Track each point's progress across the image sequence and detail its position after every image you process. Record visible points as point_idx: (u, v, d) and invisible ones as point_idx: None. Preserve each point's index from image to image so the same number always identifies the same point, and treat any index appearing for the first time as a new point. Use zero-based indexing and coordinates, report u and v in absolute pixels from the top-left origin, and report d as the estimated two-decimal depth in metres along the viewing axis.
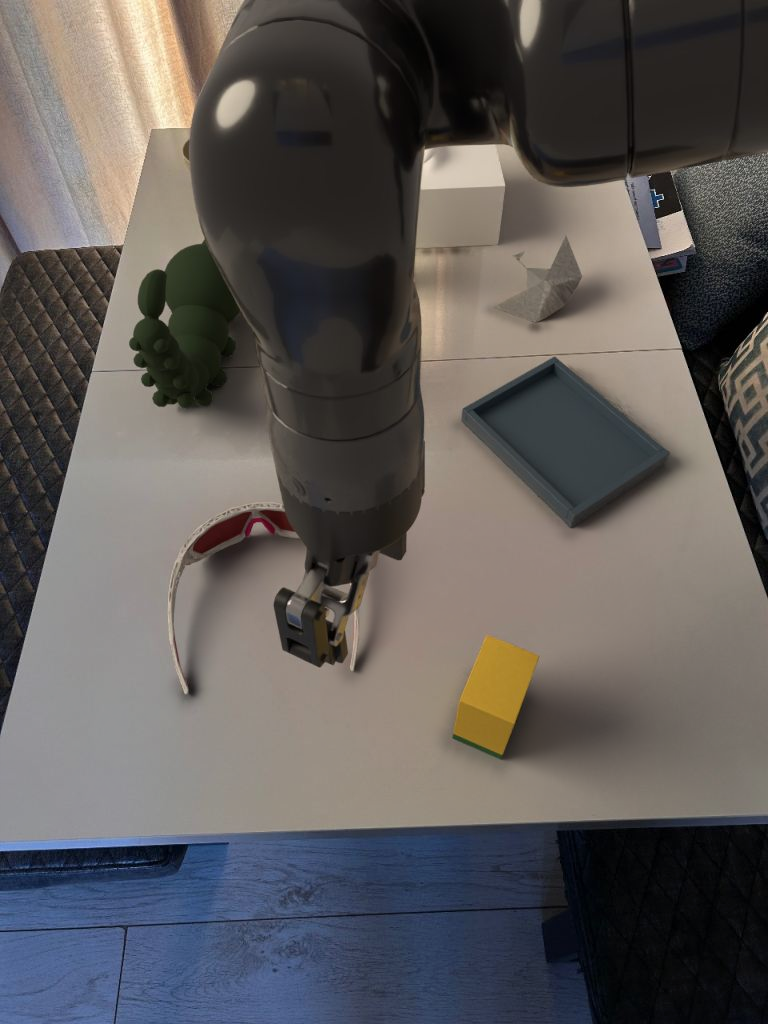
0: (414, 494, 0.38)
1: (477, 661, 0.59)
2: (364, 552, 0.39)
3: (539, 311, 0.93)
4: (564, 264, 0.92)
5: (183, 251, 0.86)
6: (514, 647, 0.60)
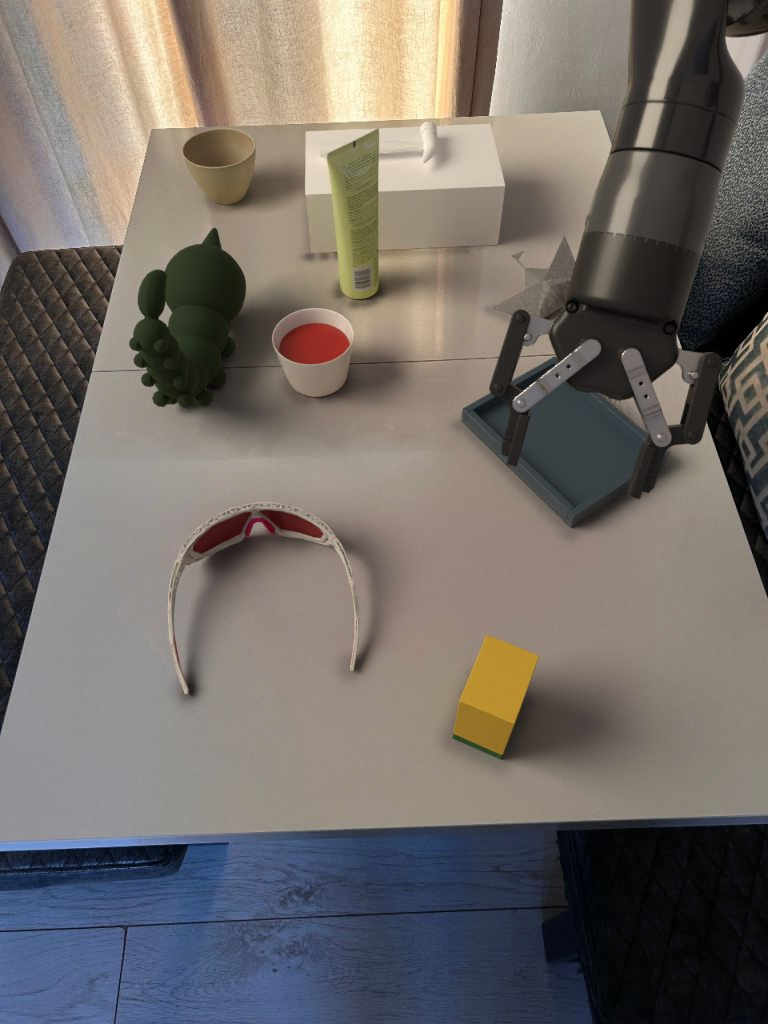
0: (637, 260, 0.46)
1: (477, 661, 0.59)
2: (579, 292, 0.49)
3: (538, 311, 0.93)
4: (563, 264, 0.92)
5: (183, 251, 0.86)
6: (514, 647, 0.60)
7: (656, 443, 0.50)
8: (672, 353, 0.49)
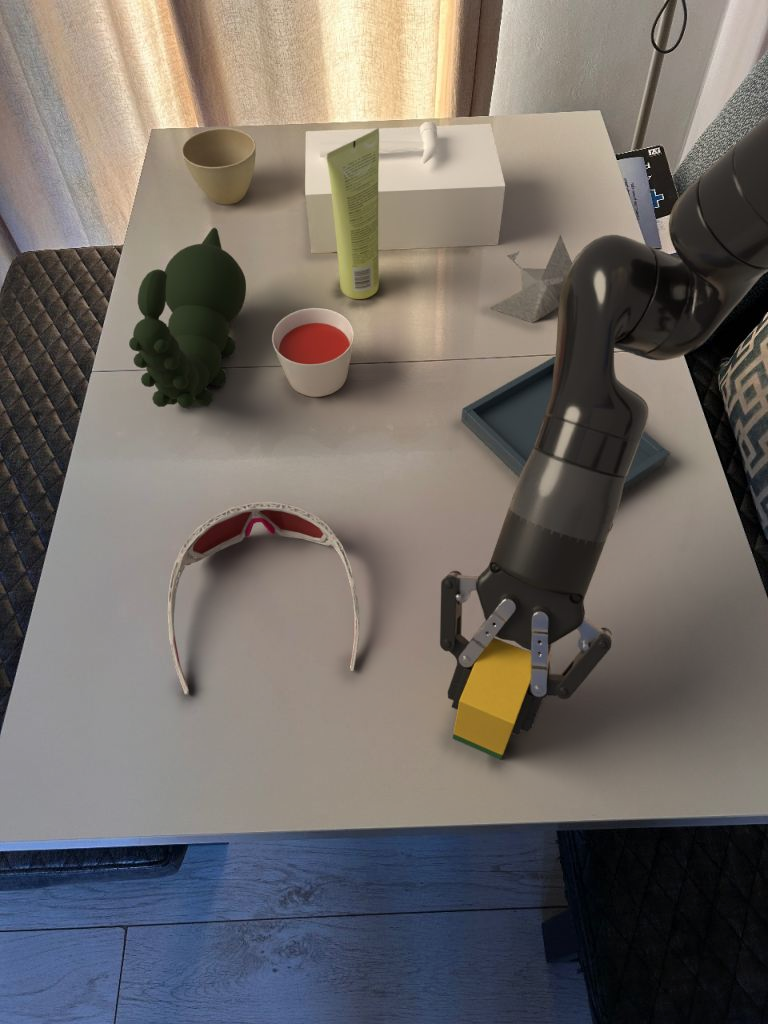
0: (544, 547, 0.54)
1: (477, 661, 0.59)
2: (498, 560, 0.57)
3: (535, 311, 0.93)
4: (559, 264, 0.92)
5: (183, 251, 0.86)
6: (514, 647, 0.60)
7: (533, 693, 0.58)
8: (577, 618, 0.57)
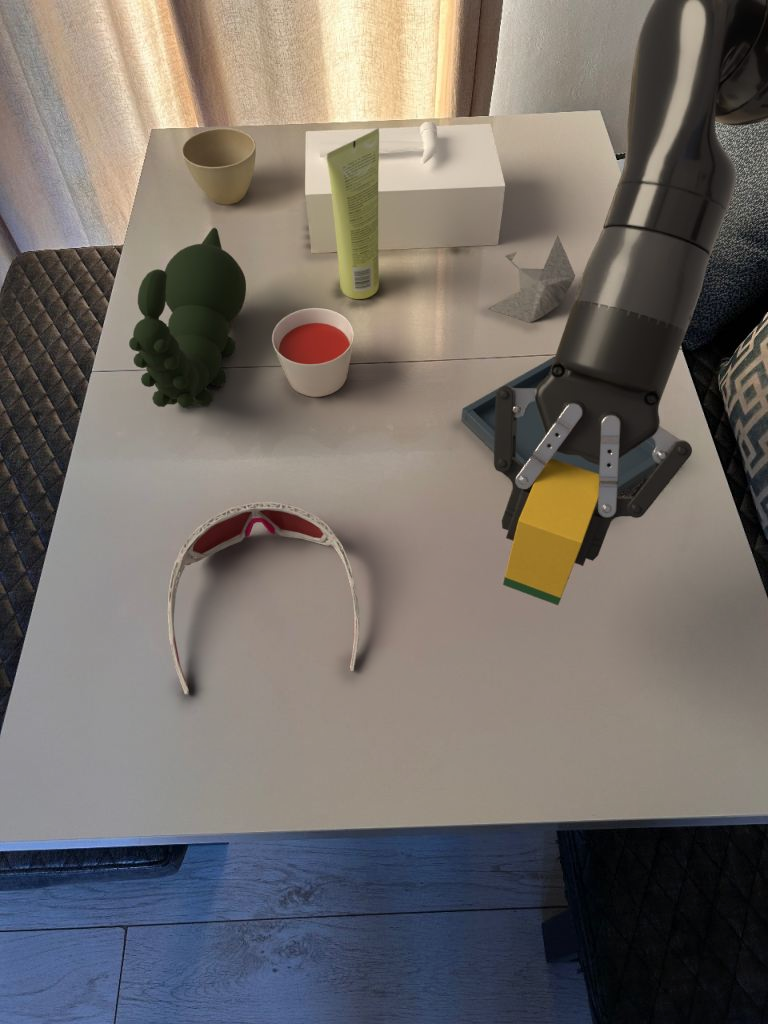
0: (619, 331, 0.47)
1: (536, 482, 0.53)
2: (563, 358, 0.50)
3: (533, 311, 0.93)
4: (557, 264, 0.92)
5: (183, 251, 0.86)
6: (577, 468, 0.54)
7: (601, 513, 0.52)
8: (652, 423, 0.50)
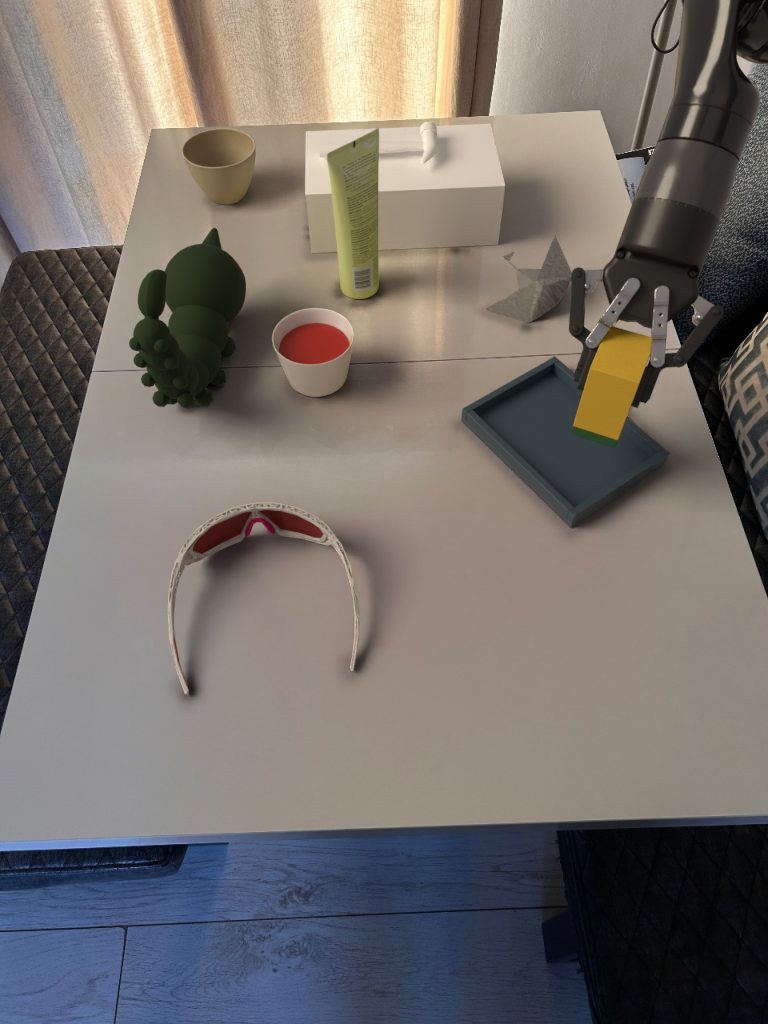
0: (670, 217, 0.63)
1: (602, 342, 0.69)
2: (626, 242, 0.66)
3: (531, 311, 0.93)
4: (554, 264, 0.92)
5: (183, 251, 0.86)
6: (633, 333, 0.69)
7: (653, 364, 0.67)
8: (693, 292, 0.66)
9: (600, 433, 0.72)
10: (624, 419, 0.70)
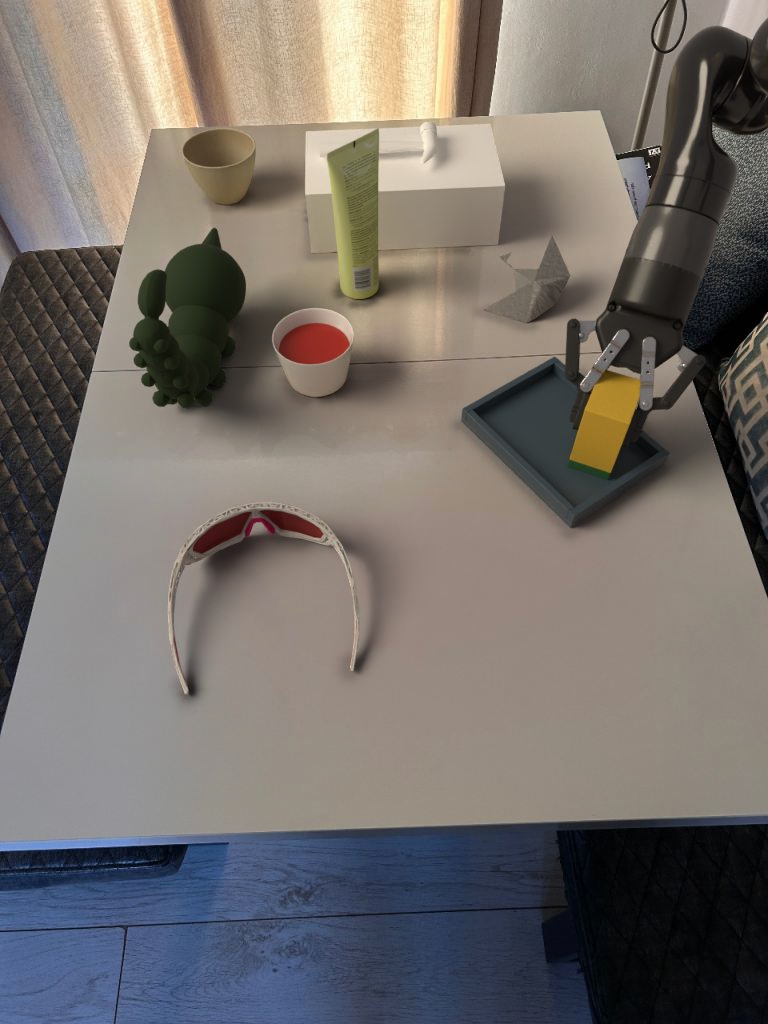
0: (656, 276, 0.70)
1: (596, 385, 0.75)
2: (616, 297, 0.72)
3: (529, 312, 0.93)
4: (552, 264, 0.92)
5: (183, 251, 0.86)
6: (624, 376, 0.75)
7: (641, 407, 0.74)
8: (678, 342, 0.72)
9: (594, 466, 0.79)
10: (616, 455, 0.76)
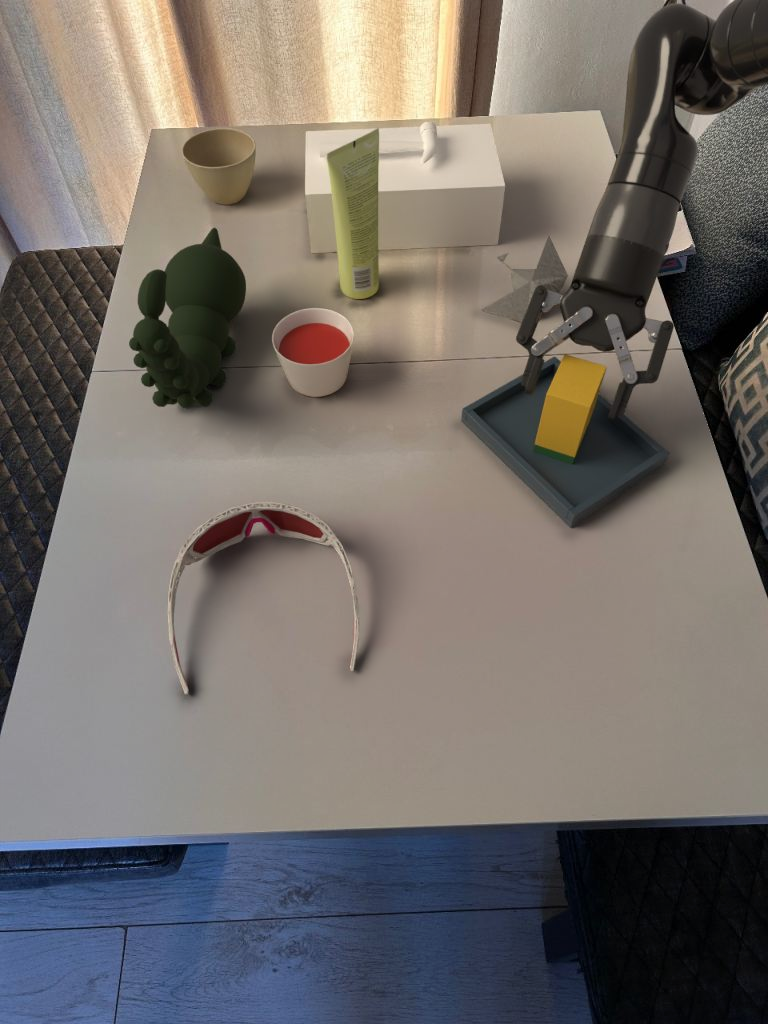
0: (618, 253, 0.70)
1: (558, 370, 0.76)
2: (580, 274, 0.73)
3: None
4: (549, 264, 0.92)
5: (183, 251, 0.86)
6: (586, 361, 0.77)
7: (627, 381, 0.74)
8: (641, 319, 0.73)
9: (559, 451, 0.80)
10: (579, 439, 0.77)
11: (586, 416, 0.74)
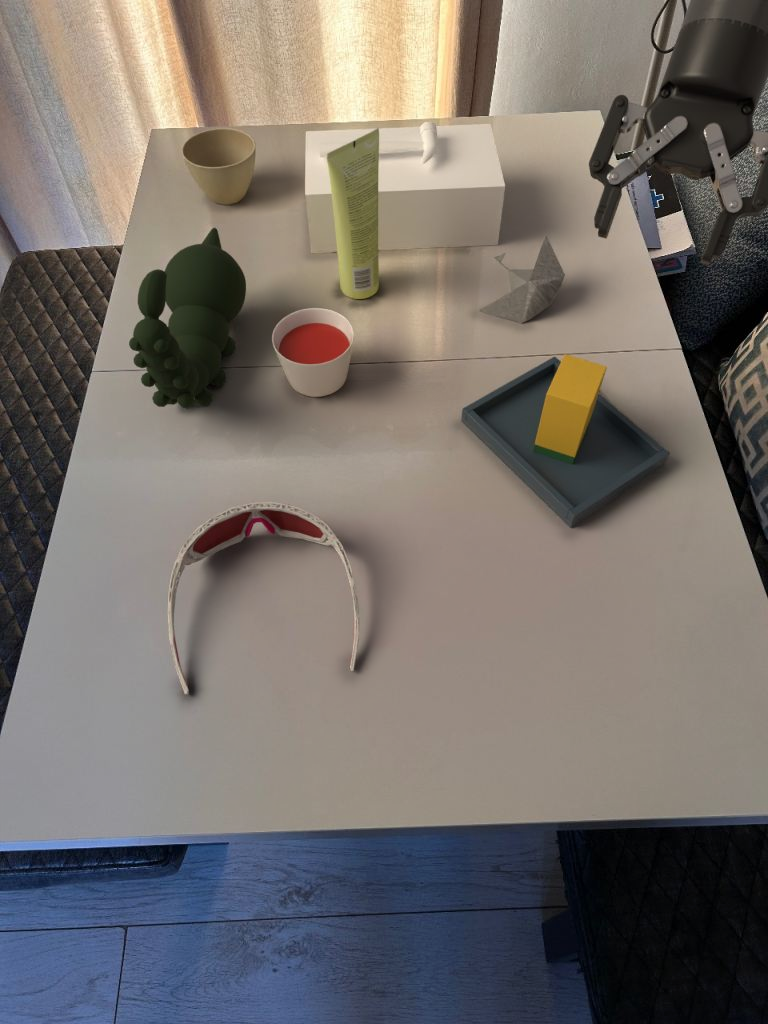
0: (724, 39, 0.56)
1: (558, 370, 0.76)
2: (672, 74, 0.59)
3: (525, 312, 0.93)
4: (546, 264, 0.92)
5: (183, 251, 0.86)
6: (586, 361, 0.77)
7: (728, 209, 0.60)
8: (748, 130, 0.59)
9: (559, 451, 0.80)
10: (579, 439, 0.77)
11: (586, 416, 0.74)
